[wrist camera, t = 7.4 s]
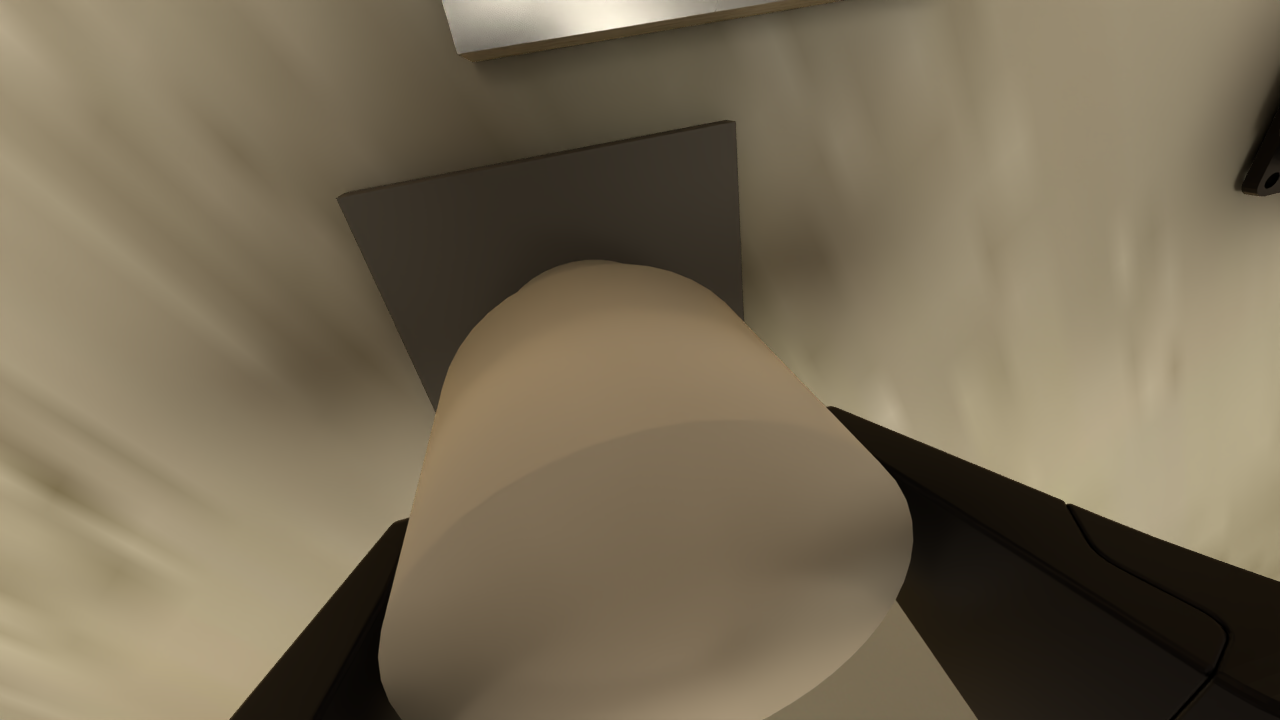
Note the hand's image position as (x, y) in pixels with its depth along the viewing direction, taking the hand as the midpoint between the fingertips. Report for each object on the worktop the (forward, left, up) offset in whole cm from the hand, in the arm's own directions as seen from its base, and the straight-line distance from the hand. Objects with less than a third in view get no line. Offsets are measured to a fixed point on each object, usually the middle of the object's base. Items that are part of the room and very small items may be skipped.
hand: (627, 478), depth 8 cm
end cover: (0, 0, -5) cm, 5 cm away
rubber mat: (0, 0, -6) cm, 6 cm away
